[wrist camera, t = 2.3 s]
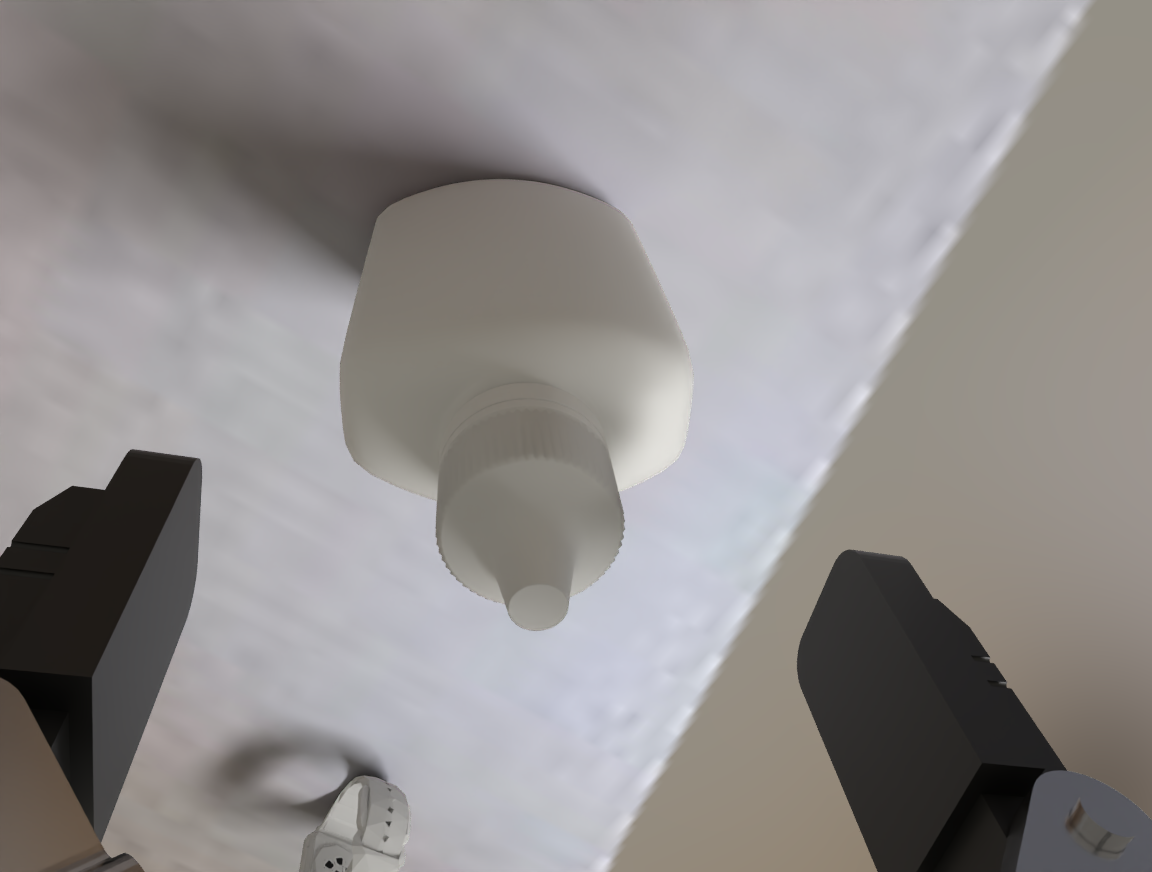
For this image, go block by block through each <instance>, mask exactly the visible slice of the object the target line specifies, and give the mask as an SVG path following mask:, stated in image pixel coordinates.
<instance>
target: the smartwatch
mask: <svg viewBox="0 0 1152 872" xmlns="http://www.w3.org/2000/svg"><path fill="white" fill-rule="evenodd" d="M410 829H411V811H410V806H409V805H408V803H407V799H406V795H405V794H404V793H403V792H402V791H401V790H400V789H399V788H398V787H397V786H395V785H393V784H390V783H388V782H386V781H384V780H381V779H379V778H377V777H371V776H364V775H363V776H359V777H355V778H354V779H353V780H352V781H351V782H349V783H348V785H347V786H346V787H345V788H344V790H343V791H342V792H341V793H340V795H339V796H338V798H337V799H336V801H335V802H334V804H333V805H332V807H331V809H330V810H329V812H328V814H327V816H326V817H325V819H324V820H323V822H322V824H321V825H320V826H319V827H317V828H316V830H315V831H314V832H312V833H311V834H309V835H308V836H307V837H306V839H305V841H304V845H303V851H302V857H301V863H300V869H299V872H398V870H399V868H400V867H402V866H403V865H404V864H405V856H406V855H405V849H404V845H405V844H406V843H407V841H408V840H409V835H410Z"/></svg>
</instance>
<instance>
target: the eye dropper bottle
mask: <svg viewBox="0 0 1152 872" xmlns="http://www.w3.org/2000/svg"><path fill="white" fill-rule="evenodd" d="M693 379H694V374H693V369H692V364H691V359H690V355H689V351H688V347H687V345H686V342H685V340H684V337H683V335H682V332H681V330H680V327H679V325H678V322H677V320H676V318H675V316H674V313H673V311H672V309H671V307H670V304H669V302H668V300H667V298H666V296H665V293H664V291H663V289H662V287H661V284H660V282H659V280H658V278H657V276H656V273H655V271H654V269H653V267H652V265H651V263H650V260H649V258H648V256H647V254H646V252H645V250H644V248H643V245H642V243H641V241H640V239H639V237H638V235H637V233H636V230H635V228H634V226H633V224H632V223H631V221H630V220H629V219H628V218H627V217H626V216H625V215H624V214H623V213H622V212H621V211H620V210H618V209H616V208H614V207H612V206H611V205H609V204H607V203H605V202H603V201H600V200H598V199H596V198H593V197H591V196H588V195H585V194H583V193H580V192H577V191H574V190H570V189H567V188H563V187H560V186H555V185H551V184H546V183H540V182H535V181H526V180H514V179H487V180H475V181H466V182H460V183H455V184H449V185H445V186H441V187H437V188H433V189H430V190H427V191H424V192H420V193H417V194H415V195H412V196H409V197H407V198H404V199H402V200H400V201H398V202H396V203H394V204H392V205H390V206H389V207H387V208H386V209H385V210H384V211H383V212H382V213H381V214H380V215H379V216H378V217H377V220H376V223H375V227H374V230H373V234H372V238H371V241H370V245H369V249H368V253H367V256H366V260H365V264H364V268H363V271H362V275H361V279H360V283H359V286H358V290H357V294H356V298H355V302H354V306H353V310H352V314H351V318H350V321H349V325H348V329H347V333H346V338H345V342H344V347H343V352H342V357H341V361H340V399H341V412H342V423H343V431H344V437H345V443H346V445H347V448H348V450H349V452H350V454H351V456H352V458H353V460H354V461H355V462H356V463H357V464H358V465H360V466H361V467H362V468H363V469H365V470H366V471H367V472H368V473H370V474H371V475H373V476H375V477H377V478H379V479H381V480H383V481H385V482H388V483H390V484H392V485H394V486H397V487H399V488H401V489H404V490H406V491H409V492H411V493H414V494H417V495H420V496H423V497H426V498H429V499H432V500H435V501H437V511H436V538H437V545H438V547H439V553H440V554H441V555H442V560H443V561H444V562H445V563H446V568H448V569H449V570H450V571H451V574H452V575H453V576H455V577H456V580H457V581H459V582H461V583H463V586H465V587H467V588H469V589H470V591H472V592H474V593H477V595H479V596H482V597H485V599H489V600H492V601H494V602H498V603H502V604H505V605H506V608H507V611H508V614H509V616H510V618H511V620H512V621H513V622H514V623H515V624H516V625H518V626H519V627H521V628H524V629H527V630H532V631H540V630H546V629H549V628H552V627H554V626H556V625H557V624H559V623H560V622H561V621H562V620H563V619H564V617H565V616H566V614H567V611H568V606H569V599H570V597H572V596H574V595H577V594H578V593H580V592H582V591H584V590H585V589H586V588H588V587H590V586H591V585H592V584H593V583H594V582H596V581H598V580H599V578H600V577H601V576H602V575H604V574H605V571H606V570H607V569H609V568H610V564H611V563H612V562H614V561H615V556H616V555H617V554H618V553H619V550H618V549H619V548H620V547H621V546H622V543H621V540H622V539H623V538H624V536H623V531H624V530H625V528H624V522H625V520H624V516H623V514H624V512H623V508H622V504H621V500H620V496H619V492H621V491H623V490H626V489H628V488H631V487H633V486H635V485H638V484H640V483H642V482H644V481H646V480H648V479H650V478H652V477H653V476H655V475H657V474H659V473H661V472H663V471H664V470H665V469H666V468H668V467H669V466H670V465H671V464H673V463H674V462H675V461H676V460H677V459H678V457H679V455H680V453H681V452H682V450H683V448H684V446H685V442H686V437H687V433H688V427H689V420H690V412H691V403H692V395H693Z"/></svg>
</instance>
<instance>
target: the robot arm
mask: <svg viewBox="0 0 1152 872" xmlns="http://www.w3.org/2000/svg"><path fill="white" fill-rule="evenodd" d="M201 487H202V464H201V460H200V459H199V458H192V457H185V456H178V455H171V454H163V453H156V452H149V451H142V450H134V449H132V450H130V451H129V452H128V453H127V454H126V456H125V457H124V459H123V461H122V462H121V464H120V466H119V467H118V469H117V471H116V472H115V474H114V476H113V477H112V479H111V481H110V482H109V484H108V486H107V487H106V489H105V490H101V489H93V488H85V487H77V486H71V487H70V488H68V489H66V490H65V491H63V492H61V493H60V494H58V495H57V496H55V497H53V498H52V499H50V500H48V501H47V502H45V503H44V504H42V505H40V506H39V507H37V508H35V509H34V510H33V511H32V512H31V514H30V515H29V517H28V518H27V520H26V521H25V523H24V524H23V525H22V527H21V528H20V530H19V531H18V533H17V534H16V535H15V537H14V538H13V540H12V544H11V547H7V548H6V550H5V551H4V553H3V554H2V555H1V557H0V872H144V870H143V869H142V867H141V866H140V865H139V863H138V862H137V861H136V860H135V859H134V858H133V857H132V856H130V855H129V854H126V853H123V854H120V855H118V856H116V857H114V858H111V857H110V856H109V855H108V854H107V853H106V851H105V850H104V848H103V847H102V845H101V841H102V839H103V836H104V834H105V831H106V828H107V826H108V823H109V820H110V818H111V815H112V813H113V810H114V807H115V805H116V802H117V800H118V797H119V794H120V792H121V789H122V787H123V784H124V781H125V779H126V776H127V774H128V771H129V768H130V766H131V763H132V760H133V758H134V755H135V753H136V750H137V747H138V745H139V742H140V740H141V737H142V734H143V732H144V729H145V727H146V724H147V721H148V719H149V716H150V714H151V711H152V708H153V706H154V703H155V700H156V698H157V695H158V693H159V690H160V687H161V685H162V682H163V680H164V677H165V674H166V672H167V669H168V667H169V664H170V661H171V659H172V656H173V654H174V651H175V648H176V646H177V643H178V640H179V638H180V635H181V633H182V630H183V627H184V625H185V622H186V619H187V616H188V613H189V610H190V606H191V602H192V598H193V593H194V587H195V581H196V574H197V563H198V544H199V525H200V506H201ZM989 659H990V656H989V655H988V654H987V652H986V651H985V649H984V648H983V646H982V645H981V643H980V642H979V640H978V639H977V637H976V636H975V634H974V633H973V632H972V630H971V629H970V627H969V626H968V625H966V624H965V623H964V622H963V621H962V620H961V619H959V618H958V617H957V616H956V615H955V614H954V613H953V612H951V611H950V610H949V609H948V608H947V607H946V606H945V605H944V604H943V603H941V602H940V601H939V600H938V599H933V597H932V596H931V594H930V593H929V591H928V589H927V588H926V586H925V585H924V583H923V582H922V580H921V579H920V577H919V576H918V574H917V573H916V571H915V570H914V568H913V567H912V565H911V564H910V562H909V561H908V560H907V559H905V558H903V557H900V556H893V555H886V554H878V553H871V552H864V551H856V550H846V551H844V552H843V553H841V554H840V555H839V557H838V558H837V559H836V561H835V563H834V565H833V567H832V570H831V572H830V574H829V577H828V579H827V581H826V583H825V586H824V588H823V590H822V593H821V595H820V597H819V599H818V601H817V604H816V606H815V609H814V611H813V613H812V615H811V617H810V620H809V622H808V624H807V627H806V629H805V631H804V633H803V636H802V638H801V641H800V645H799V650H798V658H797V672H798V679H799V683H800V687H801V689H802V692H803V694H804V697H805V699H806V701H807V703H808V706H809V708H810V711H811V713H812V715H813V718H814V720H815V723H816V725H817V728H818V730H819V732H820V735H821V737H822V740H823V742H824V744H825V747H826V749H827V752H828V754H829V756H830V759H831V761H832V764H833V766H834V768H835V770H836V773H837V775H838V778H839V780H840V783H841V785H842V787H843V790H844V792H845V795H846V797H847V799H848V802H849V804H850V806H851V809H852V811H853V814H854V816H855V818H856V821H857V823H858V826H859V828H860V831H861V833H862V835H863V838H864V840H865V843H866V845H867V847H868V850H869V852H870V854H871V857H872V859H873V862H874V864H875V866H876V869H877V871H878V872H1152V820H1151V819H1150V818H1149V817H1148V816H1147V815H1146V814H1145V813H1144V812H1143V811H1142V810H1141V809H1140V808H1139V807H1138V806H1137V805H1135V804H1134V803H1133V802H1132V801H1131V800H1129V799H1128V798H1126V797H1125V796H1124V795H1122V794H1121V793H1119V792H1118V791H1116V790H1115V789H1113V788H1111V787H1110V786H1108V785H1106V784H1104V783H1102V782H1100V781H1098V780H1096V779H1094V778H1091V777H1089V776H1086V775H1083V774H1079V773H1076V772H1071V771H1067V770H1066V768H1065V767H1064V765H1063V764H1062V762H1061V761H1060V759H1059V758H1058V756H1057V755H1056V754H1055V752H1054V751H1053V749H1052V748H1051V746H1050V745H1049V743H1048V742H1047V740H1046V739H1045V737H1044V736H1043V734H1042V733H1041V732H1040V730H1039V729H1038V727H1037V726H1036V724H1035V723H1034V721H1033V720H1032V718H1031V717H1030V715H1029V714H1028V712H1027V711H1026V709H1025V708H1024V706H1023V705H1022V704H1021V702H1020V701H1019V699H1018V698H1017V696H1016V695H1015V693H1014V692H1013V690H1012V689H1010V688H1007V687H1006V684H1007V682H1006V680H1005V679H1004V677H1003V676H1002V674H1001V673H1000V671H999V670H998V668H997V667H996V665H995V664H994V663H990V661H989Z"/></svg>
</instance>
